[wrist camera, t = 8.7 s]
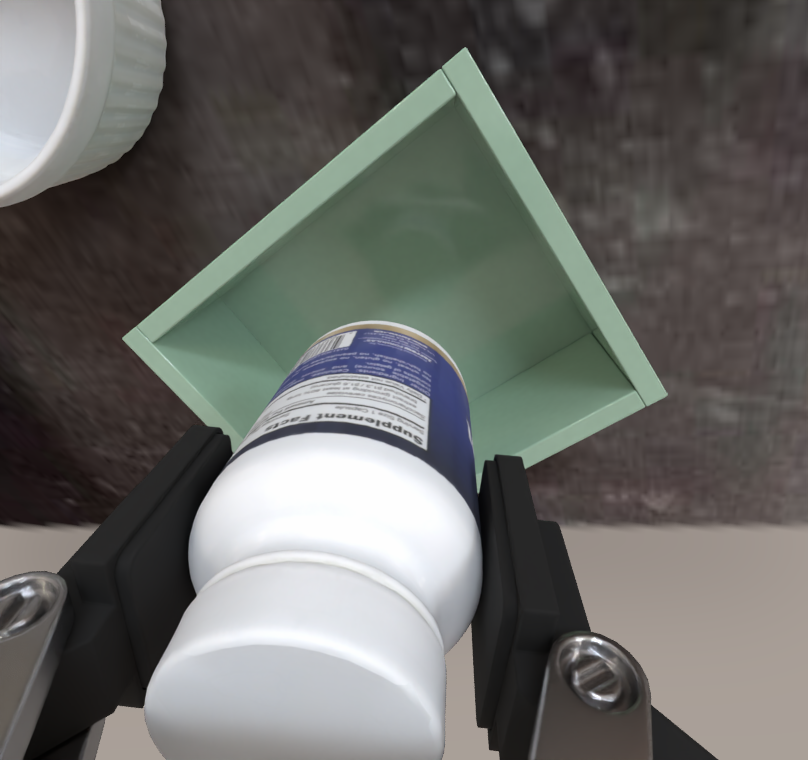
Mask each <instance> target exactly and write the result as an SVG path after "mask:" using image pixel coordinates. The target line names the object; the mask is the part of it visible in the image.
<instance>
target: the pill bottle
mask: <svg viewBox="0 0 808 760" xmlns="http://www.w3.org/2000/svg"><path fill="white" fill-rule="evenodd" d="M188 562H189V570H190V576H191V580H192V583H193V586H194V589H195V592H196V595H197V596H196V598H195V599H194V600H193V601H192V602H191V604H190V605H189V607H188V608H187V609H186V611H185V612H184V614H183V617H182V619H181V621H180V623H179V626H178V628H177V629H176V631H175V633H174V635H173V637H172V639H171V641H170V643H169V645H168V647H167V649H166V651H165V652H164V654H163V656H162V658H161V660H160V662H159V663H158V665H157V667H156V669H155V671H154V673H153V675H152V677H151V680H150V682H149V685H148V687H147V692H146V697H145V707H144V711H145V722H146V725H147V728H148V731H149V734H150V736H151V738H152V740H153V742H154V744H155V745H156V747H157V748H158V750H159V751H160V753H161V754H162V756H163V757H164V758H165V759H166V760H442V757H443V754H444V747H445V706H446V664H445V658H444V655H445V654H446V653H447V652H448V651H450V649H451V648H452V647H453V646H454V645H455V644H456V643H457V642H458V641H459V640H460V638H461V637H462V636H463V634H464V632H465V631H466V630H467V628H468V627H469V625H470V623H471V622H472V619H473V617H474V615H475V612H476V610H477V607H478V603H479V599H480V595H481V590H482V581H483V555H482V536H481V525H480V515H479V504H478V493H477V483H476V472H475V459H474V449H473V440H472V431H471V420H470V409H469V401H468V396H467V391H466V387H465V383H464V380H463V378H462V375H461V373H460V371H459V369H458V367H457V365H456V364H455V362H454V361H453V359H452V358H451V357H450V355H449V354H448V353H447V352H446V351H445V350H444V349H443V348H442V347H441V346H440V345H439V344H438V343H437V342H435V341H434V340H433V339H432V338H430V337H429V336H427V335H425V334H424V333H422V332H420V331H418V330H416V329H414V328H411V327H408V326H405V325H402V324H398V323H394V322H388V321H360V322H355V323H350V324H347V325H344V326H341V327H339V328H336V329H334V330H332V331H330V332H328V333H327V334H325V335H323V336H322V337H320V338H319V339H318V340H317V341H316V342H314V343H313V344H312V345H311V346H310V347H309V348H308V349H307V351H306V352H305V353H304V354H303V355H302V356H301V357H300V359H299V360H298V361H297V363H296V364H295V366H294V367H293V368H292V370H291V371H290V373H289V374H288V375H287V377H286V378H285V380H284V381H283V383H282V384H281V386H280V387H279V389H278V390H277V392H276V393H275V395H274V396H273V398H272V399H271V401H270V402H269V403H268V405H267V406H266V408H265V409H264V411H263V412H262V414H261V415H260V417H259V418H258V419H257V421H256V422H255V424H254V425H253V427H252V428H251V429H250V431H249V432H248V434H247V435H246V437H245V438H244V440H243V441H242V443H241V444H240V445H239V447H238V448H237V450H236V451H235V452H234V454H233V456H232V457H231V458H230V460H229V461H228V462H227V464H226V465H225V467H224V468H223V470H222V471H221V473H220V474H219V475H218V477H217V478H216V480H215V482H214V483H213V485H212V487H211V488H210V490H209V492H208V493H207V495H206V497H205V498H204V500H203V502H202V503H201V505H200V507H199V509H198V511H197V514H196V516H195V519H194V522H193V526H192V530H191V533H190V539H189V548H188Z"/></svg>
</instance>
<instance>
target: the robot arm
mask: <svg viewBox="0 0 808 760" xmlns="http://www.w3.org/2000/svg"><path fill="white" fill-rule="evenodd" d="M231 457H232V446H231V439H230V436H229V435H225V434H223V431H222V429H221V428H220V427H210V426H200V425H193V426H192V427H191V428H190V429H189V430H188V431H187V432H186V433H185V434H184V435H183V436H182V437H181V439H180V440H179V441H178V442H177V443H176V444H175V445H174V446H173V447H172V449H171V450H170V451H169V452H168V453H167V454H166V455H165V456H164V457H163V458H162V460H161V461H160V462H159V463H158V464H157V465H156V466H155V467H154V468H153V470H152V471H151V472H150V473H149V474H148V475H147V476H146V477H145V478H144V480H143V481H142V482H141V483H139V484H138V485H137V486H136V487H135V488H134V489H133V490H132V491H131V492H130V493H129V494H128V496H127V497H126V498H125V499H124V500H123V501H122V502H121V503H120V504H119V505H118V507H117V508H116V509H115V510H114V511H113V512H112V513H111V514H110V515H109V517H108V518H107V519H106V520H105V521H104V522H103V523H102V524H101V525H100V526H99V528H98V529H97V530H96V531H95V532H94V533H93V534H92V536H90V537H89V539H88V540H87V541H86V542H85V543H84V544H83V545H82V546H81V547H80V549H79V550H78V551H77V552H76V553H75V554H74V555H73V556H72V557H71V558H70V560H69V561H68V562H67V563H66V564H65V565H64V566H63V567H62V568H61V569H60V571H59V572H58V573H57V574H55V573H51V572H47V571H37V572H28V573H23V574H19V575H15V576H12V577H9V578H7V579H4V580H2V581H0V760H95V757H96V754H97V750H98V746H99V742H100V739H101V735H102V731H103V727H104V724H105V717H107V716H109V715H110V714H112V713H113V712H114V711H115V709H116V708H117V706H118V705H119V706H128V707H136V708H143V706H144V704H145V697H146V692H147V687H148V685H149V682H150V680H151V677H152V675H153V673H154V671H155V669H156V667H157V665H158V663H159V662H160V660H161V658H162V656H163V654H164V652H165V651H166V649H167V647H168V645H169V643H170V641H171V639H172V637H173V635H174V633H175V631H176V629H177V628H178V626H179V623H180V621H181V619H182V617H183V614H184V612H185V611H186V609H187V608H188V607H189V605H190V604H191V602H192V601H193V600H194V599H195V598H196V596H197V595H196V592H195V589H194V586H193V583H192V580H191V576H190V570H189V562H188V548H189V539H190V533H191V530H192V526H193V522H194V519H195V516H196V514H197V511H198V509H199V507H200V505H201V503H202V502H203V500H204V498H205V497H206V495H207V493H208V492H209V490H210V488H211V487H212V485H213V483H214V482H215V480H216V478H217V477H218V475H219V474H220V473H221V471H222V470H223V468H224V467H225V465H226V464H227V462H228V461H229V460H230V458H231ZM478 504H479V515H480V525H481V536H482V555H483V581H482V590H481V595H480V599H479V603H478V607H477V610H476V612H475V615H474V617H473V619H472V622H471V626H472V644H473V645H472V646H473V665H474V683H475V703H476V720H477V726H478V727H480V728H488V741H489V750H493V751H499V756H500V760H718V759H716V758H715V757H714V756H713V755H712V754H711V753H709V752H708V751H707V750H705V749H704V748H703V747H702V746H701V745H699V744H698V743H697V742H696V741H694V740H693V739H692V738H691V737H690V736H689V735H687V734H686V733H685V732H683V731H682V730H681V729H680V728H679V727H677V726H676V725H675V724H674V723H672V722H671V721H670V720H669V719H667V718H666V717H665V716H664V715H663V714H662V713H660V712H659V711H658V710H657V709H655V708H654V707H653V706H652V705H651V693H650V688H649V683H648V679H647V677H646V675H645V673H644V672H643V669H642V668H641V666H640V664H639V663H638V662H637V661H636V660H635V658H634V657H633V656H632V655H631V654H630V652H628V651H627V650H626V649H624V648H623V647H622V646H621V645H619V644H618V643H617V642H615V641H613V640H611V639H609V638H607V637H605V636H603V635H601V634H597V633H594V632H591V630H590V627H589V623H588V620H587V617H586V613H585V610H584V607H583V603H582V600H581V596H580V593H579V590H578V586H577V583H576V580H575V576H574V573H573V570H572V567H571V563H570V560H569V556H568V553H567V549H566V546H565V543H564V539H563V536H562V533H561V530H560V527H559V525H558V524H557V523H556V522H552V521H542V520H537V517H536V513H535V509H534V504H533V500H532V496H531V492H530V488H529V484H528V480H527V476H526V472H525V467H524V463H523V459H522V457H520V456H510V455H500V454H495V456H494V459H493V460H485V462H484V466H483V472H482V478H481V484H480V491H479V497H478Z"/></svg>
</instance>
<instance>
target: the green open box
mask: <svg viewBox="0 0 808 760" xmlns="http://www.w3.org/2000/svg"><path fill="white" fill-rule="evenodd" d="M360 321H388V322H394V323H398V324H402V325H405V326H408V327H411V328H414V329H416V330H418V331H420V332H422V333H424V334H425V335H427V336H429V337H430V338H432V339H433V340H434V341H435V342H437V343H438V344H439V345H440V346H441V347H442V348H443V349H444V350H445V351H446V352H447V353H448V354H449V355H450V357H451V358H452V359H453V361H454V362H455V364H456V365H457V367H458V369H459V371H460V373H461V375H462V378H463V380H464V383H465V387H466V391H467V396H468V401H469V409H470V420H471V431H472V440H473V449H474V459H475V472H476V483H477V493H479V491H480V484H481V478H482V472H483V466H484V462H485V460H493V459H494V456H495V454H500V455H510V456H520V457H522V459H523V463H524V467H525V469H526V468H528V467H530V466H532V465H534V464H536V463H538V462H540V461H542V460H544V459H546V458H548V457H550V456H552V455H553V454H555V453H557V452H559V451H561V450H563V449H565V448H567V447H569V446H571V445H573V444H575V443H577V442H579V441H581V440H583V439H584V438H586V437H588V436H590V435H592V434H594V433H596V432H598V431H600V430H602V429H604V428H606V427H608V426H610V425H612V424H614V423H616V422H617V421H619V420H621V419H623V418H625V417H627V416H629V415H631V414H633V413H635V412H637V411H639V410H641V409H643V408H644V407H645V406H649V405H651V404H653V403H655V402H657V401H659V400H661V399H663V398H665V397H666V396H668V394H667V392H666V391H665V389H664V387H663V385H662V384H661V382H660V380H659V378H658V377H657V375H656V373H655V372H654V370H653V368H652V366H651V365H650V363H649V361H648V359H647V358H646V356H645V354H644V353H643V351H642V349H641V347H640V346H639V344H638V342H637V341H636V339H635V337H634V335H633V334H632V332H631V330H630V328H629V327H628V325H627V323H626V322H625V320H624V318H623V316H622V315H621V313H620V311H619V310H618V308H617V306H616V304H615V303H614V301H613V299H612V297H611V296H610V294H609V292H608V291H607V289H606V287H605V285H604V284H603V282H602V280H601V279H600V277H599V275H598V273H597V272H596V270H595V268H594V266H593V265H592V263H591V261H590V260H589V258H588V256H587V254H586V253H585V251H584V249H583V247H582V246H581V244H580V242H579V241H578V239H577V237H576V235H575V234H574V232H573V230H572V229H571V227H570V225H569V223H568V222H567V220H566V218H565V216H564V215H563V213H562V211H561V210H560V208H559V206H558V204H557V203H556V201H555V199H554V198H553V196H552V194H551V192H550V191H549V189H548V187H547V185H546V184H545V182H544V180H543V179H542V177H541V175H540V173H539V172H538V170H537V168H536V167H535V165H534V163H533V161H532V160H531V158H530V156H529V154H528V153H527V151H526V149H525V148H524V146H523V144H522V142H521V141H520V139H519V137H518V135H517V134H516V132H515V130H514V129H513V127H512V125H511V123H510V122H509V120H508V118H507V117H506V115H505V113H504V111H503V110H502V108H501V106H500V104H499V103H498V101H497V99H496V98H495V96H494V94H493V92H492V91H491V89H490V87H489V86H488V84H487V82H486V80H485V79H484V77H483V75H482V73H481V72H480V70H479V68H478V67H477V65H476V63H475V61H474V60H473V58H472V56H471V55H470V53H469V51H468V49H467V48H466V47H465V48H463V49H462V50H461V51H460V52H458V53H457V54H456V55H455V56H454V57H453V58H451V59H450V60H449V61H448V62H447V63H446V64H444V65H443V66H442V69H439V70H437V71H436V72H435V73H434V74H433V75H432V76H430V77H429V78H428V79H427V80H426V81H424V82H423V83H422V84H421V85H420V86H419V87H417V88H416V89H415V90H414V91H413V92H411V93H410V94H409V95H408V96H407V97H406V98H404V99H403V100H402V101H401V102H400V103H399V104H397V105H396V106H395V107H394V108H393V109H391V110H390V111H389V112H388V113H387V114H386V115H384V116H383V117H382V118H381V119H380V120H378V121H377V122H376V123H375V124H374V125H373V126H371V127H370V128H369V129H368V130H367V131H366V132H364V133H363V134H362V135H361V136H360V137H358V138H357V139H356V140H355V141H354V142H353V143H351V144H350V145H349V146H348V147H347V148H345V149H344V150H343V151H342V152H341V153H340V154H338V155H337V156H336V157H335V158H334V159H333V160H331V161H330V162H329V163H328V164H327V165H325V166H324V167H323V168H322V169H321V170H320V171H318V172H317V173H316V174H315V175H314V176H312V177H311V178H310V179H309V180H308V181H307V182H305V183H304V184H303V185H302V186H301V187H300V188H298V189H297V190H296V191H295V192H294V193H292V194H291V195H290V196H289V197H288V198H287V199H285V200H284V201H283V202H282V203H281V204H280V205H278V206H277V207H276V208H275V209H274V210H272V211H271V212H270V213H269V214H268V215H267V216H265V217H264V218H263V219H262V220H261V221H259V222H258V223H257V224H256V225H255V226H254V227H252V228H251V229H250V230H249V231H248V232H247V233H245V234H244V235H243V236H242V237H241V238H239V239H238V240H237V241H236V242H235V243H234V244H232V245H231V246H230V247H229V248H228V249H226V250H225V251H224V252H223V253H222V254H221V255H219V256H218V257H217V258H216V259H215V260H214V261H212V262H211V263H210V264H209V265H208V266H206V267H205V268H204V269H203V270H202V271H201V272H199V273H198V274H197V275H196V276H195V277H193V278H192V279H191V280H190V281H189V282H188V283H186V284H185V285H184V286H183V287H182V288H181V289H179V290H178V291H177V292H176V293H175V294H173V295H172V296H171V297H170V298H169V299H168V300H166V301H165V302H164V303H163V304H162V305H160V306H159V307H158V308H157V309H156V310H155V311H153V312H152V313H151V314H150V315H149V316H148V317H146V318H145V319H144V320H143V321H142V322H140V323H139V324H138V326H136V327H134V328H133V329H132V330H131V331H130V332H129V333H127V334H126V335H125V336H124V337H123V338H122V340H123V341H124V342H125V343H126V344H127V345H128V346H129V347H130V348H131V349H132V350H133V351H134V352H135V353H136V354H137V355H138V356H139V357H140V358H141V359H142V360H143V361H144V362H145V363H146V364H147V365H148V366H149V367H150V368H151V369H152V370H153V371H154V372H155V373H156V374H157V375H158V376H159V377H160V378H161V379H162V380H163V381H164V382H165V383H166V384H167V385H168V386H169V387H170V389H171V390H172V391H173V392H174V393H175V394H176V395H177V396H178V397H179V398H180V399H181V400H182V401H183V402H184V403H185V404H186V405H187V406H188V407H189V408H190V409H191V410H192V411H193V412H194V413H195V414H196V415H197V416H198V417H199V418H200V419H201V420H202V421H203V422H204V423H205V424H206V425H207V426H210V427H220V428H221V429H222V431H223V434H225V435H229V436H230V439H231V446H232V452H233V453H234V452H235V451H236V450H237V448H238V447H239V445H240V444H241V443H242V441H243V440H244V438H245V437H246V435H247V434H248V432H249V431H250V429H251V428H252V427H253V425H254V424H255V422H256V421H257V419H258V418H259V417H260V415H261V414H262V412H263V411H264V409H265V408H266V406H267V405H268V403H269V402H270V401H271V399H272V398H273V396H274V395H275V393H276V392H277V390H278V389H279V387H280V386H281V384H282V383H283V381H284V380H285V378H286V377H287V375H288V374H289V373H290V371H291V370H292V368H293V367H294V366H295V364H296V363H297V361H298V360H299V359H300V357H301V356H302V355H303V354H304V353H305V352H306V351H307V349H308V348H309V347H310V346H311V345H312V344H313V343H314V342H316V341H317V340H318V339H319V338H320V337H322V336H323V335H325V334H327V333H328V332H330V331H332V330H334V329H336V328H339V327H341V326H344V325H347V324H350V323H355V322H360Z"/></svg>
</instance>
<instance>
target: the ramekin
mask: <svg viewBox="0 0 808 760" xmlns="http://www.w3.org/2000/svg"><path fill="white" fill-rule="evenodd" d="M166 47H167V42H166V37H165V19H164V16H163V12H162V8H161V0H0V207H5V206H9V205H12V204H15V203H18V202H22V201H25V200H27V199H29V198H31V197H34V196H36V195H37V194H39V193H41V192H43V191H44V190H46V189H47V188H50V187H54V186H57V185H60V184H64V183H67V182H70V181H73V180H77V179H80V178H83V177H85V176H87V175H89V174H92V173H94V172H97V171H100V170H102V169H103V168H105V167H107V166H108V165H109V164H112V163H114V162H116V161H117V160H119V159H120V158H121V157H122V155H123V154H124V153H126V152H128V151H129V150H130V149H131V148H132V147H133V146H134V144H135V142H136V141H138V140H139V139H140V138H141V137H142V135H143V133H144V131H145V129H146V127H147V126H148V125H149V123H150V121H151V117H152V114H153V112H154V111H155V110H156V108H157V105H158V98H159V94H160V92H161V90H162V88H163V73H164V70H165V68H166V58H165V55H166Z"/></svg>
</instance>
